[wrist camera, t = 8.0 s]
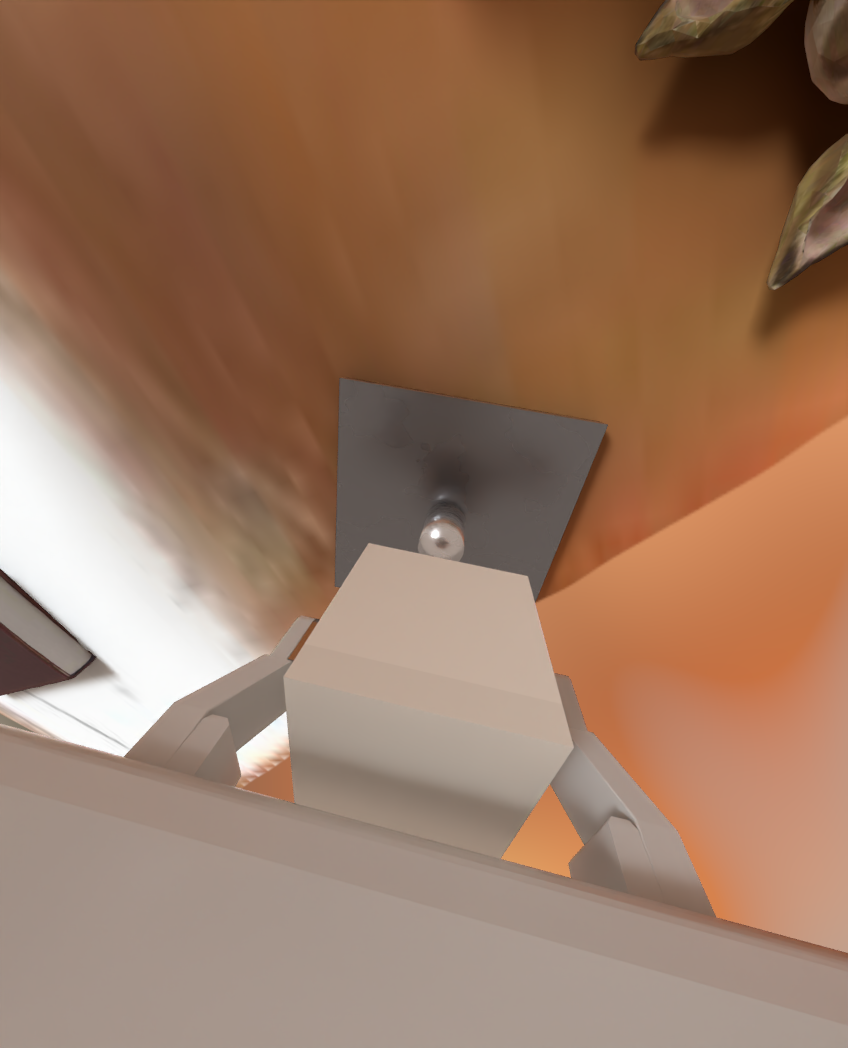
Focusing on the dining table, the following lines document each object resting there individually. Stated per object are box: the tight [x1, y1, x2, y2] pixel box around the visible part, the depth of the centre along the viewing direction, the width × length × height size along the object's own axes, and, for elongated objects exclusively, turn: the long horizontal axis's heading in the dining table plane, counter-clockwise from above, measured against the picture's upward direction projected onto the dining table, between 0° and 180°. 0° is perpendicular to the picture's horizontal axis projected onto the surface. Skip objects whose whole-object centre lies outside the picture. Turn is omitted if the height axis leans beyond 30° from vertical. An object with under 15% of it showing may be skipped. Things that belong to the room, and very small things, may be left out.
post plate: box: [335, 378, 608, 602], centre depth 18 cm, size 14×14×5 cm
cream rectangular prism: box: [283, 543, 574, 859], centre depth 9 cm, size 5×5×5 cm
